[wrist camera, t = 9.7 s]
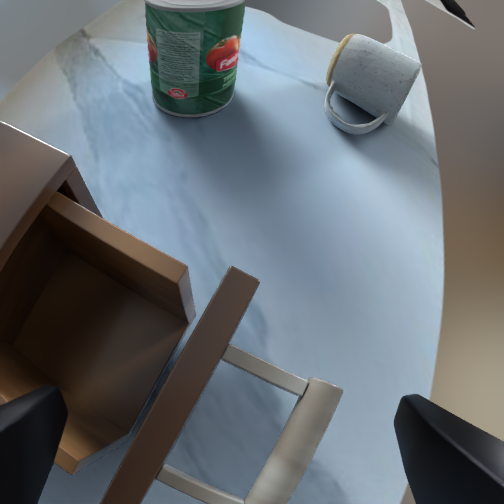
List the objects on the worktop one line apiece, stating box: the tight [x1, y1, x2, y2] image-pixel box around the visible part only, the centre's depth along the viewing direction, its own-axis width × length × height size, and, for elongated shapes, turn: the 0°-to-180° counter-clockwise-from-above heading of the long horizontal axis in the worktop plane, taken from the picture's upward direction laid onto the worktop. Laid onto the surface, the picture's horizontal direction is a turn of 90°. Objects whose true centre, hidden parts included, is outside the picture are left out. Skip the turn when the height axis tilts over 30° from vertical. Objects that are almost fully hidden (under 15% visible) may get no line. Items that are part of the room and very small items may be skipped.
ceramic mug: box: [325, 34, 422, 135], centre depth 27 cm, size 11×8×8 cm
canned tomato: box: [145, 0, 246, 118], centre depth 23 cm, size 8×8×11 cm
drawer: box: [0, 191, 343, 504], centre depth 13 cm, size 17×10×9 cm, turn 64°
